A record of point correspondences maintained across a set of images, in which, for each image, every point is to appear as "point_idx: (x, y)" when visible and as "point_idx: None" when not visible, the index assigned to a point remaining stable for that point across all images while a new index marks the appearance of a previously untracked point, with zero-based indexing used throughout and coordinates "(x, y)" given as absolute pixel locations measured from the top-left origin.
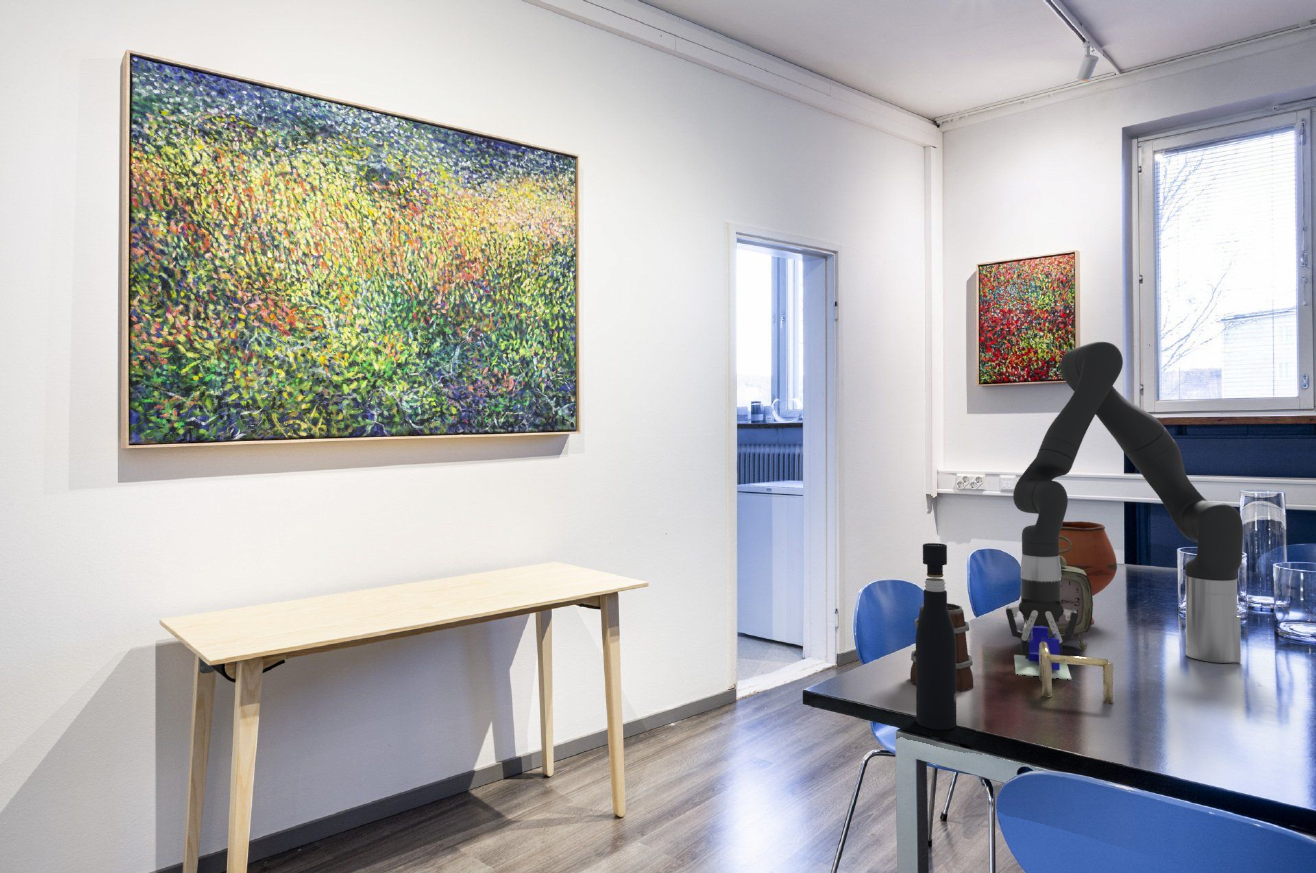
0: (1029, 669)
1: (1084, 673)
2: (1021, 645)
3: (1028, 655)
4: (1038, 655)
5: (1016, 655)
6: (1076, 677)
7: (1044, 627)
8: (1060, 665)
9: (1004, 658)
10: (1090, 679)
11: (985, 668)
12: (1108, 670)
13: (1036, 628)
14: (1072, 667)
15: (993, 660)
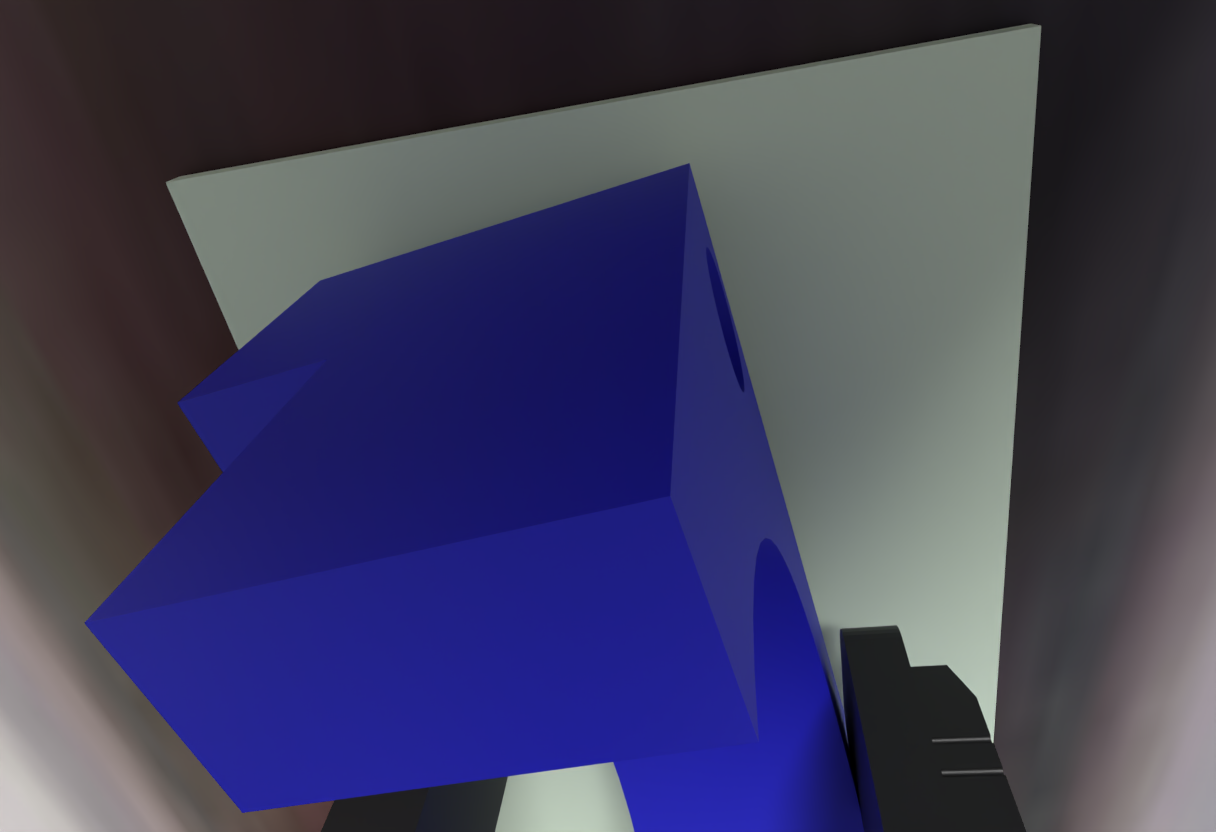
0: (561, 771)
1: (1189, 641)
2: (335, 825)
3: (497, 787)
4: (624, 787)
5: (216, 219)
6: (1048, 795)
7: (624, 714)
8: (909, 507)
9: (135, 371)
10: (1195, 811)
11: (184, 797)
12: None
13: (375, 776)
14: (1081, 434)
15: (86, 521)
